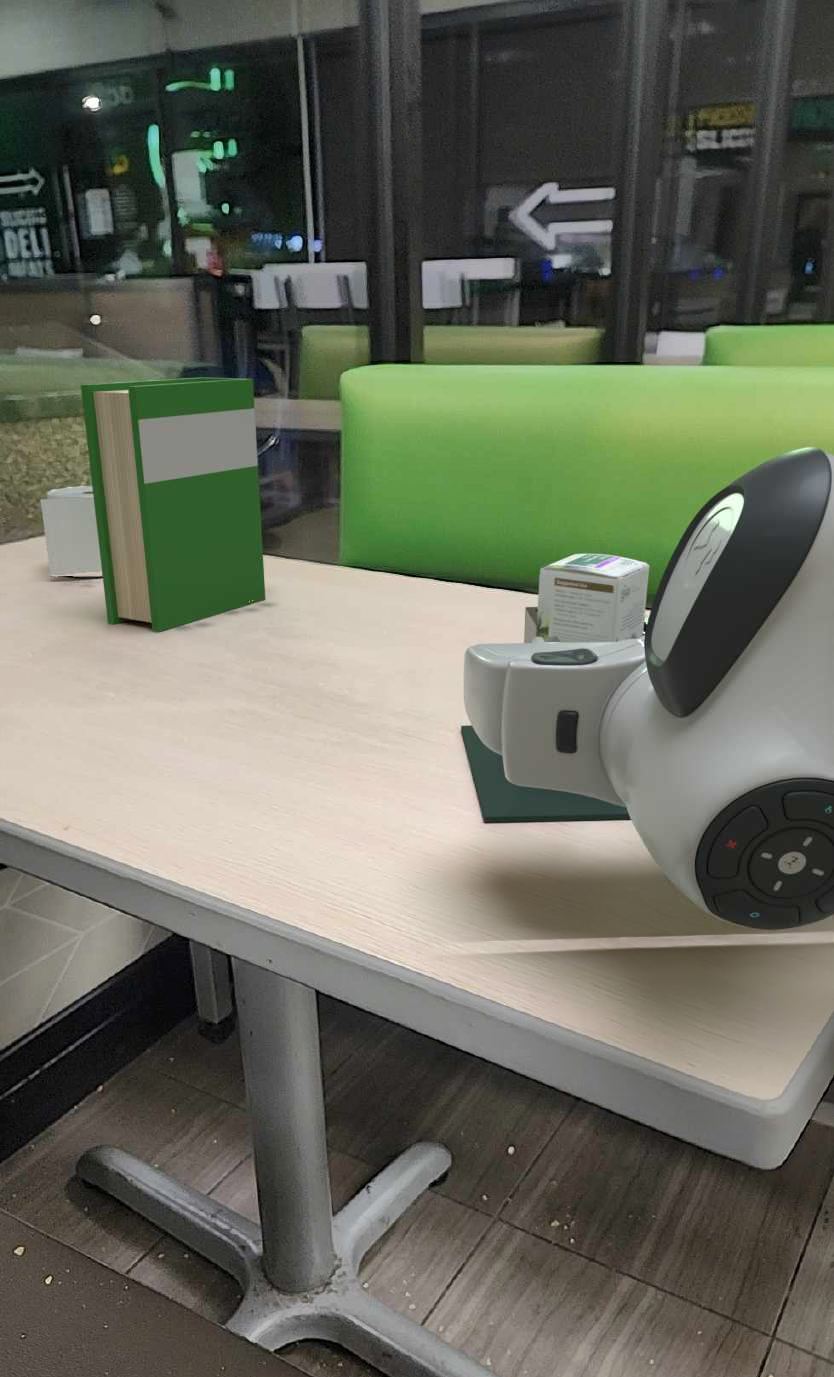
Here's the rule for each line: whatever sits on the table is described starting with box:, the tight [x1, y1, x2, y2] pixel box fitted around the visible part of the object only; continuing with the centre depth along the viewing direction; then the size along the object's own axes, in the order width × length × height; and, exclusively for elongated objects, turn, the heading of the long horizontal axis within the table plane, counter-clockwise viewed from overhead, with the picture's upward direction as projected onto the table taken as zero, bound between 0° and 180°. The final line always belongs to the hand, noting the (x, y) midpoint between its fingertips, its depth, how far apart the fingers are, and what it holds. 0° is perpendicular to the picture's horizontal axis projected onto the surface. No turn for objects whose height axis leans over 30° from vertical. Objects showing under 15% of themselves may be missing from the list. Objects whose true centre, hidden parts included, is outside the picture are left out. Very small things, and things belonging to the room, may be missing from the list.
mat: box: [460, 724, 631, 823], centre depth 81 cm, size 16×18×1 cm
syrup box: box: [536, 553, 650, 643], centre depth 78 cm, size 6×6×14 cm
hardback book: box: [80, 376, 266, 633], centre depth 122 cm, size 18×7×24 cm, turn 148°
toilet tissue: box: [39, 485, 103, 578], centre depth 145 cm, size 11×12×10 cm
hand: (621, 648), depth 68 cm, fingers open, 8 cm apart
